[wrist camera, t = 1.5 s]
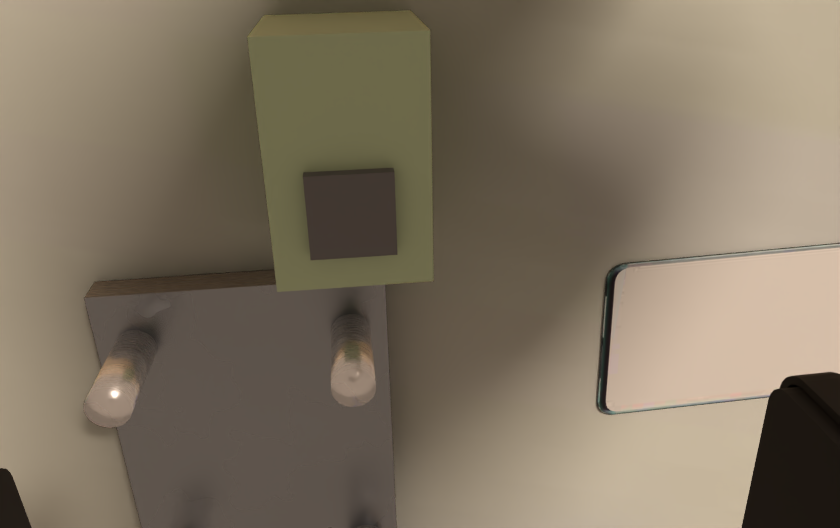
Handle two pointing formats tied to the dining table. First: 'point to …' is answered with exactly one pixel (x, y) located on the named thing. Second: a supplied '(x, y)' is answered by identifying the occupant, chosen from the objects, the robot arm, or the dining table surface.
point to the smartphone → (717, 326)
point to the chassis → (246, 400)
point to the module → (345, 146)
